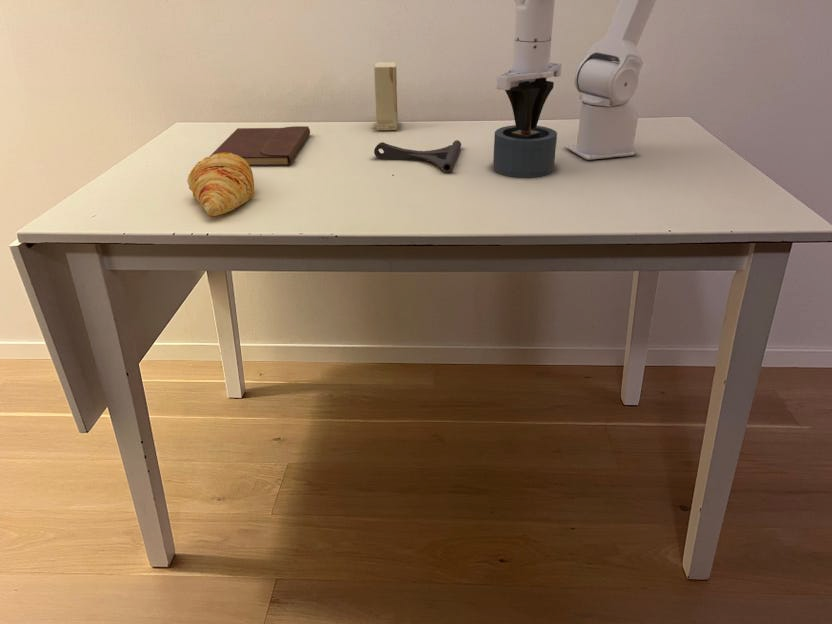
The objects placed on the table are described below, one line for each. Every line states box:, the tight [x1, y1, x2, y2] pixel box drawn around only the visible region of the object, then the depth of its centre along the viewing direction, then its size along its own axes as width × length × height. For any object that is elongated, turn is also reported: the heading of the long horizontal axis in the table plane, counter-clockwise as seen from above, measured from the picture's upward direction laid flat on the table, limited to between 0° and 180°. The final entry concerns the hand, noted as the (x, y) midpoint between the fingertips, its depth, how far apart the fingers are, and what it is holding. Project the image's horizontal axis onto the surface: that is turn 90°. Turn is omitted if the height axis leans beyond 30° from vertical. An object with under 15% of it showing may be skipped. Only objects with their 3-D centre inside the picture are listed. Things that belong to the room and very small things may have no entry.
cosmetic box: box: [373, 61, 399, 131], centre depth 141 cm, size 6×4×12 cm
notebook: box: [208, 125, 311, 167], centre depth 132 cm, size 15×20×2 cm
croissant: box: [186, 152, 255, 217], centre depth 109 cm, size 21×10×8 cm, turn 5°
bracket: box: [373, 139, 462, 173], centre depth 125 cm, size 14×15×3 cm
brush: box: [511, 116, 540, 139], centre depth 116 cm, size 3×3×7 cm
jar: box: [492, 124, 558, 178], centre depth 118 cm, size 10×10×6 cm
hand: (526, 128), depth 116 cm, fingers closed on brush
